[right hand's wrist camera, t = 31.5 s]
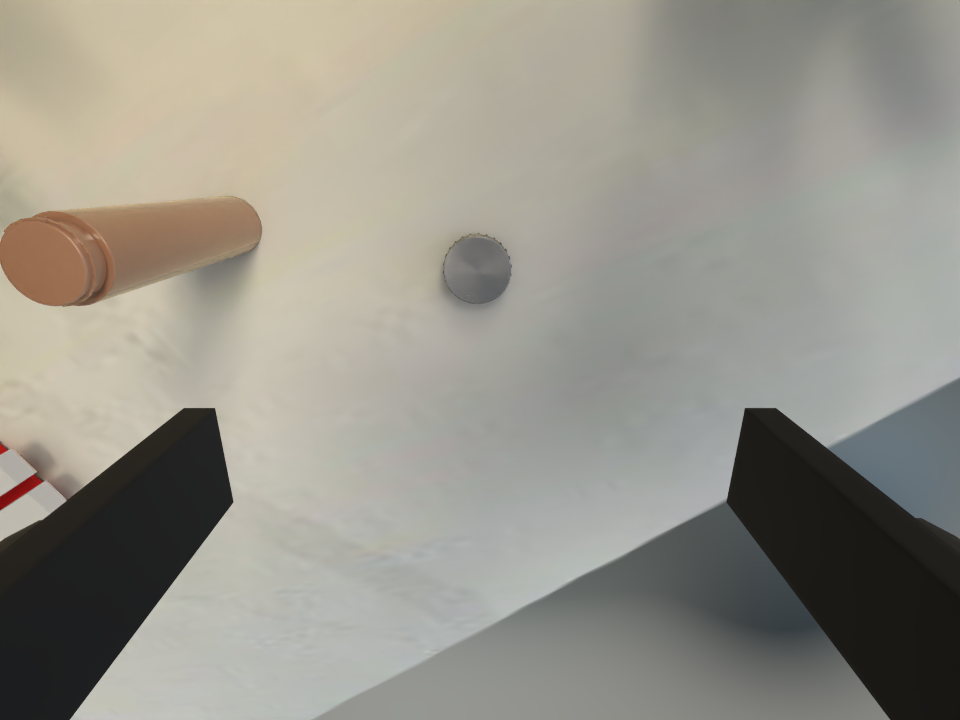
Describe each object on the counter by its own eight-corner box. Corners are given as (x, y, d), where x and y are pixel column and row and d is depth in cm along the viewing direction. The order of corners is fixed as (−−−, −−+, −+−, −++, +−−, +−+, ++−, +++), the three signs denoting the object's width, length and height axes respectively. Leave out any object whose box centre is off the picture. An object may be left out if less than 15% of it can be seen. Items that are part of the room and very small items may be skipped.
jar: (273, 231, 39) (115, 275, 22) (234, 265, 40) (52, 331, 23) (232, 184, 38) (32, 191, 21) (192, 219, 39) (-31, 254, 22)
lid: (524, 265, 40) (526, 269, 39) (478, 313, 41) (478, 318, 40) (476, 218, 39) (475, 220, 37) (430, 268, 40) (428, 272, 39)
